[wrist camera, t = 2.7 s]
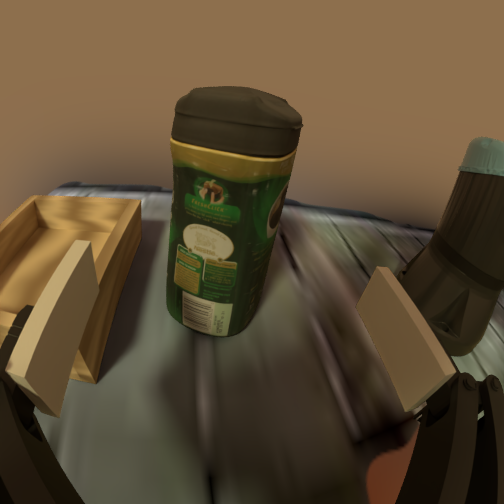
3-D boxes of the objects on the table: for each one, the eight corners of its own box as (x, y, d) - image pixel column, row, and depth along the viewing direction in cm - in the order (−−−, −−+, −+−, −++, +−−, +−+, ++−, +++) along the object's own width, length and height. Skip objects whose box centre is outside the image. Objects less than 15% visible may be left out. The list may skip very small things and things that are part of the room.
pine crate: (141, 237, 32) (141, 199, 29) (96, 384, 16) (76, 343, 13) (37, 228, 29) (31, 195, 26) (-39, 340, 13) (-63, 300, 10)
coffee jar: (199, 261, 30) (222, 84, 20) (267, 285, 29) (314, 102, 19) (151, 318, 22) (155, 78, 12) (236, 354, 21) (297, 95, 11)
